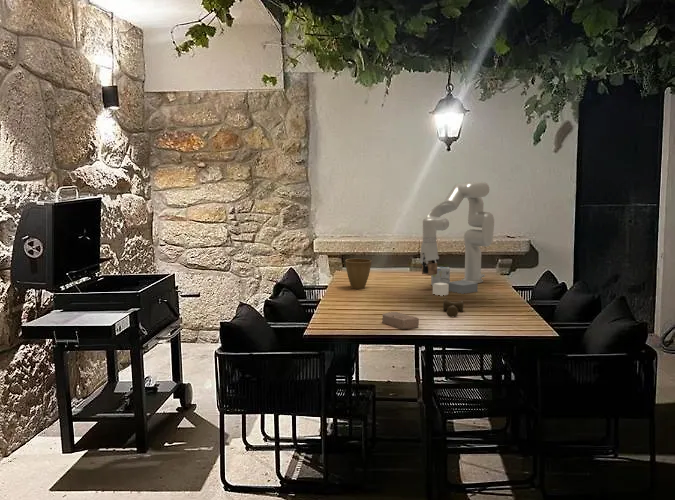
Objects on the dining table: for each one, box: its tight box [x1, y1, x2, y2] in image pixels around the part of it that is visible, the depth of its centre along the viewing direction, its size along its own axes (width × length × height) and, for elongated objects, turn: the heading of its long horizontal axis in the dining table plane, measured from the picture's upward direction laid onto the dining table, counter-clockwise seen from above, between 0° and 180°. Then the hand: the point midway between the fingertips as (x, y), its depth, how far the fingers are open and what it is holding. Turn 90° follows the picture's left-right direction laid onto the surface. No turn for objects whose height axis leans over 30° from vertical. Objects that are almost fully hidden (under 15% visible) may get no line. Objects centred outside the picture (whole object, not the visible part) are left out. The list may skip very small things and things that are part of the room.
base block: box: [447, 279, 479, 295], centre depth 359 cm, size 12×12×5 cm
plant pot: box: [345, 258, 373, 290], centre depth 367 cm, size 15×15×16 cm
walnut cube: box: [421, 261, 438, 276], centre depth 362 cm, size 6×6×6 cm
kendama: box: [442, 298, 465, 317], centre depth 305 cm, size 6×10×20 cm
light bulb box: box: [430, 266, 451, 287], centre depth 375 cm, size 11×7×11 cm, turn 84°
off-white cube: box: [432, 283, 450, 297], centre depth 349 cm, size 6×6×6 cm
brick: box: [381, 311, 420, 330], centre depth 281 cm, size 17×8×5 cm, turn 33°
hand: (429, 271), depth 363 cm, fingers closed on walnut cube, 6 cm apart
